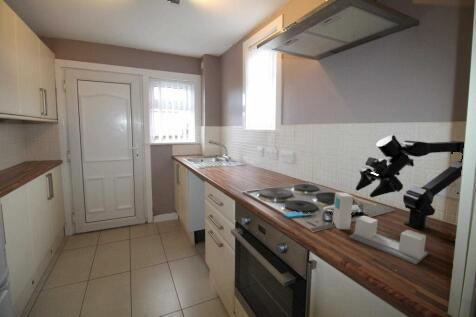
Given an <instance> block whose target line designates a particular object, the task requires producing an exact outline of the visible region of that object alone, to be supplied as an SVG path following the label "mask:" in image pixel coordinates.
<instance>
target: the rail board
mask: <svg viewBox="0 0 476 317" xmlns="http://www.w3.org/2000/svg"><path fill="white" fill-rule="evenodd" d="M377 229H378V219H375V218H373V217H370V216H366V215H362V216H359V217H357V218H355V228H354V232H353V233H352V234H350V235H349V238H350V239H352V240H355V241H358V242H360V243H363V244H365V245H367V246H369V247H372V248H375V249H376V250H379V251H382V252H385V253H387V254H390V255H391V256H394V257H397V258H398V259H402V260H404V261H406V262H409V263H412V264H415V265H417V264H418V263H420V262H421V261H422V260H423V259H424V258H426V257H427V255H428V254H429V251H426V250H425V246H426V240H427V235H426V234H423V233H419V232H418V231H417V232H416V231H413V230H410V229H406V230H404V231H402V232H400V237H399V238H400V239H399V240H396V239H393V238H390V237H388V236H385V235H382V234H379V233H377Z"/></svg>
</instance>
